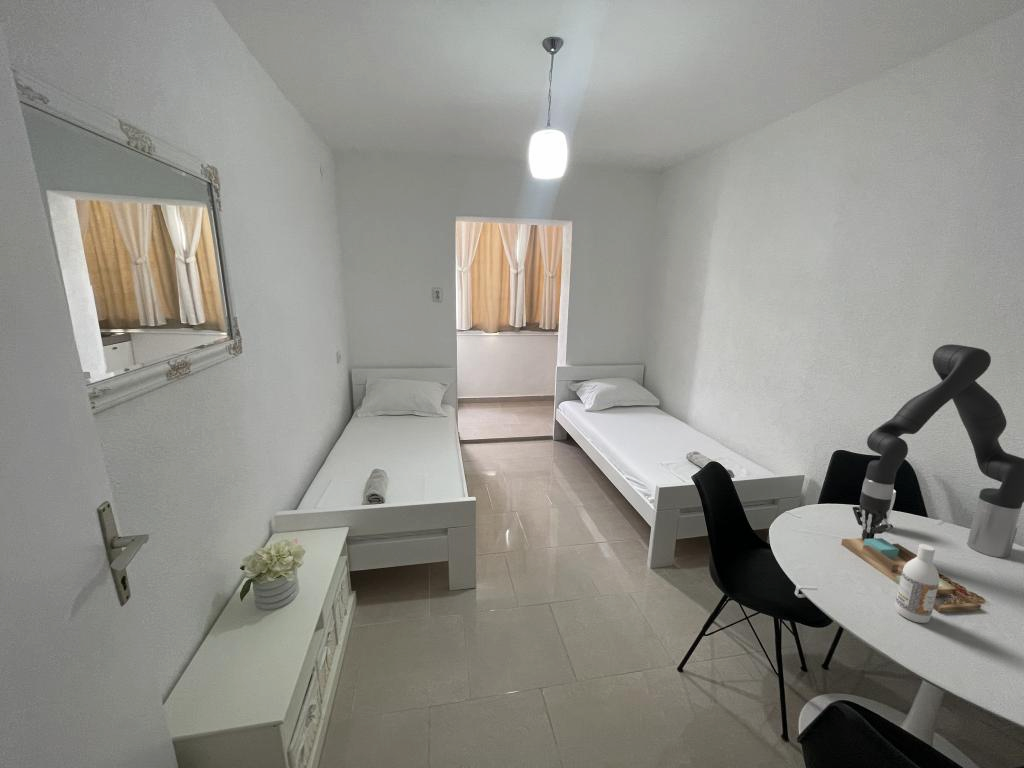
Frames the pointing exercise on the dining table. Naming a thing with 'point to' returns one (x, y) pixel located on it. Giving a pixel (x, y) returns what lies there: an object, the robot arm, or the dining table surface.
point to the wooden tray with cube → (894, 572)
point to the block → (883, 547)
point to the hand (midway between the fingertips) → (866, 540)
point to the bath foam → (918, 586)
